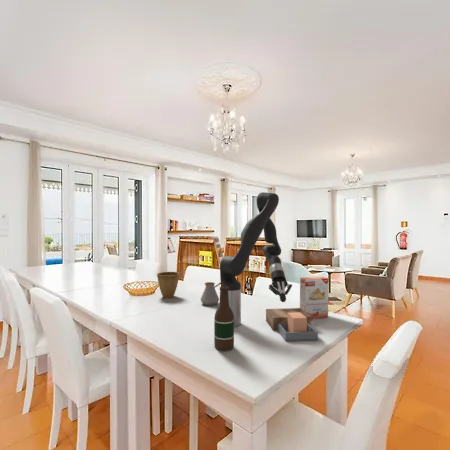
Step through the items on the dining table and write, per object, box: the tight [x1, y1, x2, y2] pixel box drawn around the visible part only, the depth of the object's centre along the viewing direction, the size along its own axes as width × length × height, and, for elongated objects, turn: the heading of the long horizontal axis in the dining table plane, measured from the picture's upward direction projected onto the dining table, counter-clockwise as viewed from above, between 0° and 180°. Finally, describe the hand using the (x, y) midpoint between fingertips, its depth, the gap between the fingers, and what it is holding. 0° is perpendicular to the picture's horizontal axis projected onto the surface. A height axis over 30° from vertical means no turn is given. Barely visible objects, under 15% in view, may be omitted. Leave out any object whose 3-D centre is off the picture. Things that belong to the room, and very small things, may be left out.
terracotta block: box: [288, 312, 307, 332], centre depth 126 cm, size 6×8×8 cm
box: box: [277, 323, 319, 342], centre depth 125 cm, size 14×12×4 cm
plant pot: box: [156, 271, 180, 299], centre depth 195 cm, size 15×15×16 cm
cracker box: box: [299, 276, 330, 320], centre depth 152 cm, size 14×6×21 cm, turn 105°
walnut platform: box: [265, 307, 312, 332], centre depth 139 cm, size 18×14×6 cm
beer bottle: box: [213, 285, 235, 352], centre depth 113 cm, size 8×8×24 cm
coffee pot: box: [200, 281, 222, 306], centre depth 180 cm, size 21×12×15 cm, turn 125°
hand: (283, 301), depth 146 cm, fingers closed
